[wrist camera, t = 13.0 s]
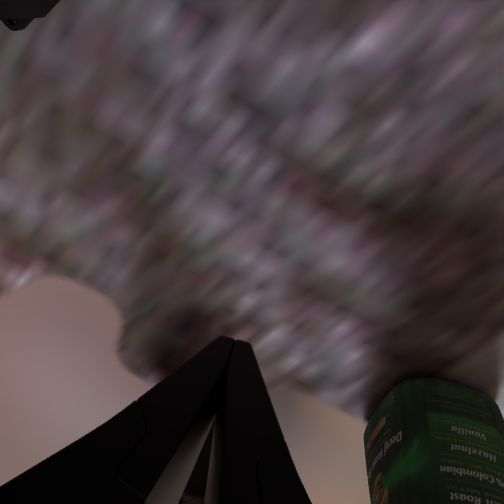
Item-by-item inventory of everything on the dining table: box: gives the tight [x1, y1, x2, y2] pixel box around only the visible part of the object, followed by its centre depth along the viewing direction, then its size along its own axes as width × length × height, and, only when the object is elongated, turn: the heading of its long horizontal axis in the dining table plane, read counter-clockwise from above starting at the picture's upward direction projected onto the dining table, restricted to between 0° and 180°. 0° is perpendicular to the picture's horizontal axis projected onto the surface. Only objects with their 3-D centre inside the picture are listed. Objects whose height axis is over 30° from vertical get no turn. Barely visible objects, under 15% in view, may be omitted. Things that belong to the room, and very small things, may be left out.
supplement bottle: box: [178, 409, 218, 504], centre depth 28 cm, size 7×7×12 cm
